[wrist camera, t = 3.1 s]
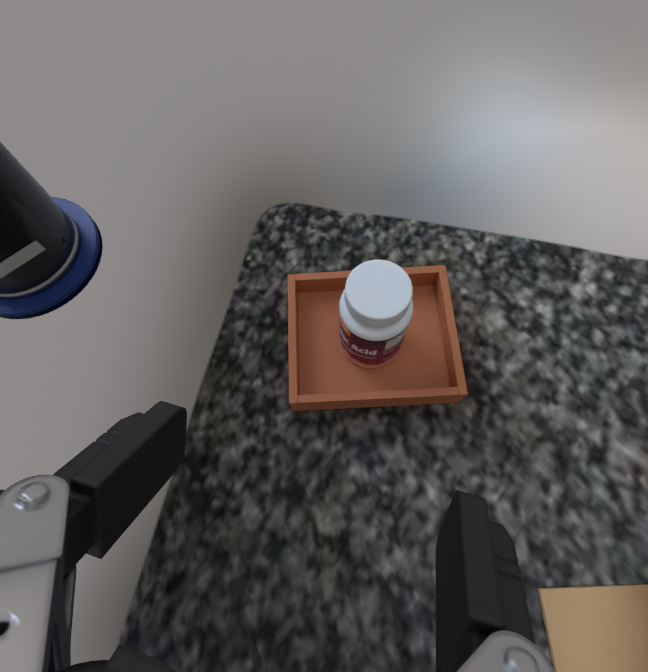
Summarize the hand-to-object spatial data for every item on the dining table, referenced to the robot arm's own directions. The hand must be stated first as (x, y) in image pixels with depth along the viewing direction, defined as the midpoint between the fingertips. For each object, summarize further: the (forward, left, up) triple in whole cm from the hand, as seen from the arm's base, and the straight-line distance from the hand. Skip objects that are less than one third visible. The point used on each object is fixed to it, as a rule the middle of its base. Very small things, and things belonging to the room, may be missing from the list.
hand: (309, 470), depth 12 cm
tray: (+4, +11, -18) cm, 22 cm away
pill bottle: (+4, +11, -18) cm, 22 cm away
